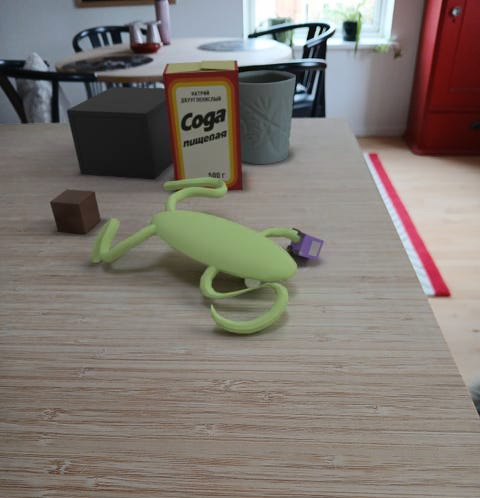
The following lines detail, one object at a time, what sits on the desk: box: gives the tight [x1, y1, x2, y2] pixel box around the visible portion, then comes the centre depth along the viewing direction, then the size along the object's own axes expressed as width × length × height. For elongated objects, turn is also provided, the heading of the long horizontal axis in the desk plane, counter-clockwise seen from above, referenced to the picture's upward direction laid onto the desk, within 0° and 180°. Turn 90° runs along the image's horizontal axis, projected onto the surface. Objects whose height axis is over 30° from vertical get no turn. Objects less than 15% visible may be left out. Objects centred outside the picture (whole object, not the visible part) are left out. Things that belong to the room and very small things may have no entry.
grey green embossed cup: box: [239, 69, 297, 165], centre depth 81 cm, size 10×10×12 cm
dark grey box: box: [66, 86, 173, 180], centre depth 82 cm, size 15×13×10 cm
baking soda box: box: [162, 59, 243, 192], centre depth 71 cm, size 10×6×16 cm
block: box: [49, 188, 101, 235], centre depth 65 cm, size 4×4×4 cm
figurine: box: [90, 177, 325, 335], centre depth 56 cm, size 18×27×6 cm
